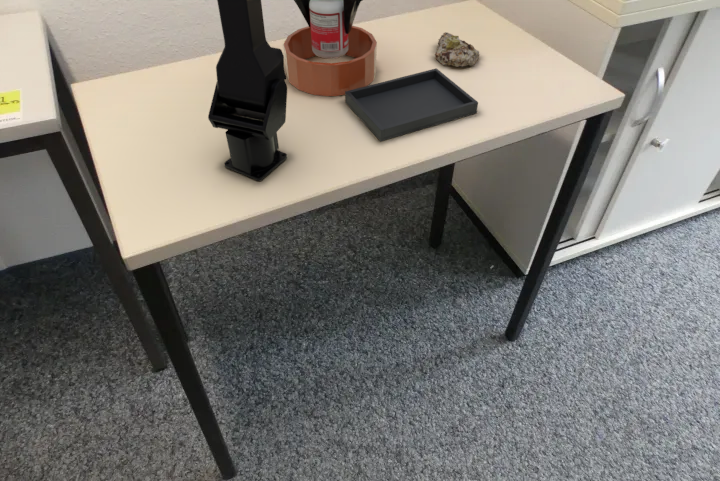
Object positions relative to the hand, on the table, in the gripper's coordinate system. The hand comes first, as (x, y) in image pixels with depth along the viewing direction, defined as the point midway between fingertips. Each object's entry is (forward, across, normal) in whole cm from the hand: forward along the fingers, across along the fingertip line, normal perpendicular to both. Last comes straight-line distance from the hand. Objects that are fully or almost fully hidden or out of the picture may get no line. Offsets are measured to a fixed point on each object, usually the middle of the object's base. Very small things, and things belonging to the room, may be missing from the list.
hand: (329, 29), depth 87 cm
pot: (+8, 0, 0) cm, 8 cm away
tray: (+8, -16, +6) cm, 19 cm away
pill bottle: (+4, 0, 0) cm, 4 cm away
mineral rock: (+8, -19, -14) cm, 25 cm away
